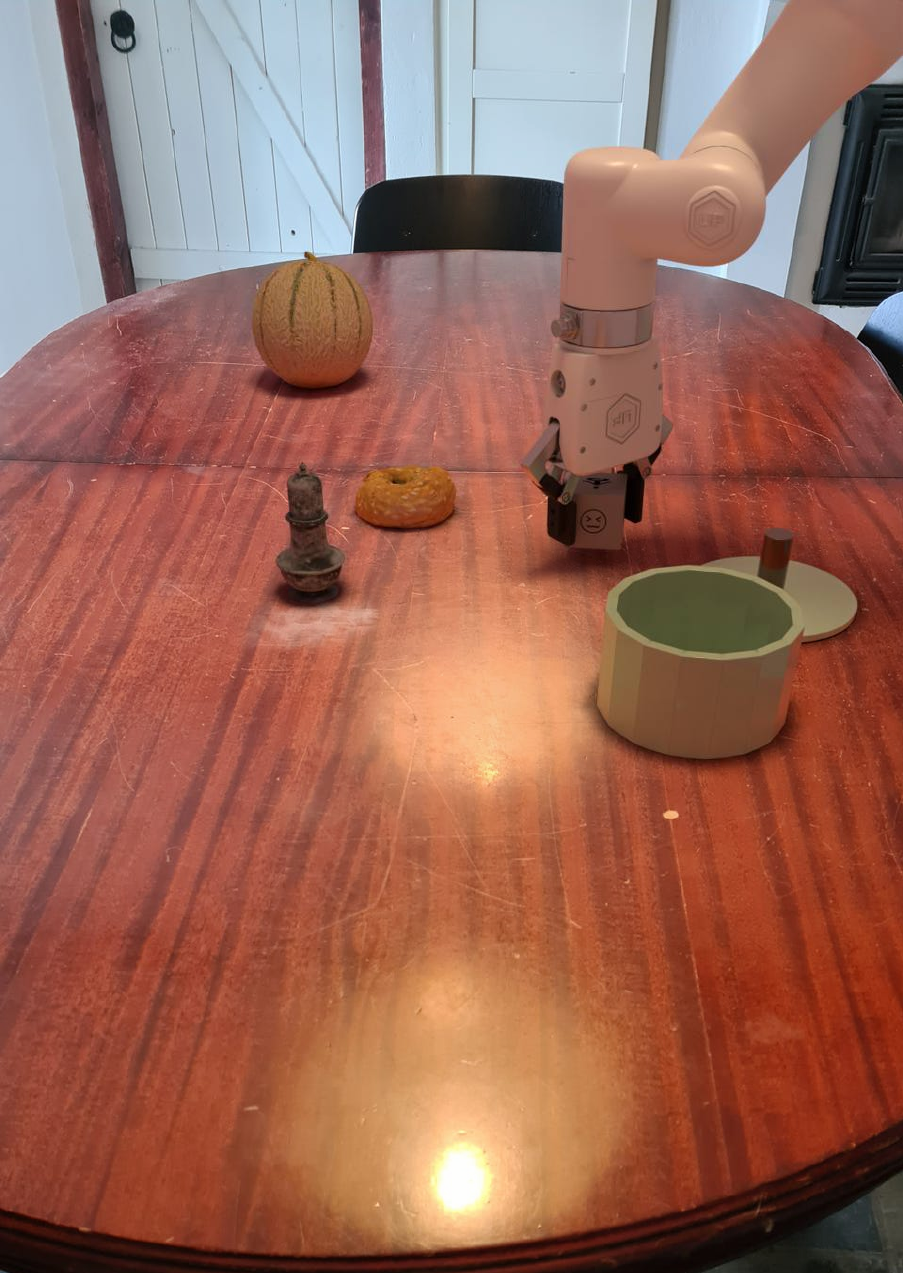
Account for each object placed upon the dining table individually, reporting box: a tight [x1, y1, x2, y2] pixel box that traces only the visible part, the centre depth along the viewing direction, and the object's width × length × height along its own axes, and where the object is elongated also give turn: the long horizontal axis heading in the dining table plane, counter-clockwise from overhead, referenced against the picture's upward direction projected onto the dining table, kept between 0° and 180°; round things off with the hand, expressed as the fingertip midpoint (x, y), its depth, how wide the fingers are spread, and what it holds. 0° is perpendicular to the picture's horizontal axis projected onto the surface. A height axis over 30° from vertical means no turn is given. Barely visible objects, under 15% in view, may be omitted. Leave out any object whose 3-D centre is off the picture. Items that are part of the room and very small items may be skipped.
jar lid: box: [700, 527, 858, 643], centre depth 97 cm, size 15×15×7 cm
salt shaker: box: [275, 461, 346, 604], centre depth 97 cm, size 6×6×12 cm
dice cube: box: [563, 472, 627, 551], centre depth 103 cm, size 5×5×5 cm
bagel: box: [354, 464, 458, 529], centre depth 113 cm, size 10×11×5 cm
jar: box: [596, 564, 805, 760], centre depth 84 cm, size 14×14×8 cm
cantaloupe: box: [251, 251, 374, 390], centre depth 141 cm, size 15×15×15 cm
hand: (594, 527), depth 104 cm, fingers closed on dice cube, 7 cm apart
